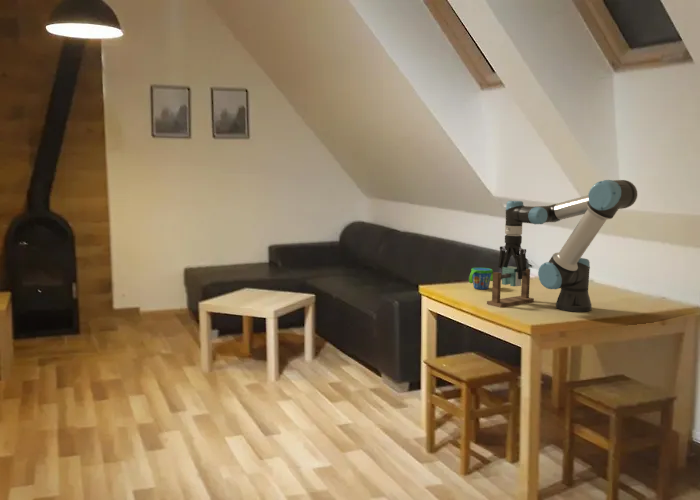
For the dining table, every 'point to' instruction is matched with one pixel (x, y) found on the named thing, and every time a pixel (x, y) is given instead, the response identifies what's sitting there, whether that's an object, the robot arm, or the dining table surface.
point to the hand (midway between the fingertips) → (511, 284)
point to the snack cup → (481, 277)
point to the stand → (512, 300)
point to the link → (511, 271)
